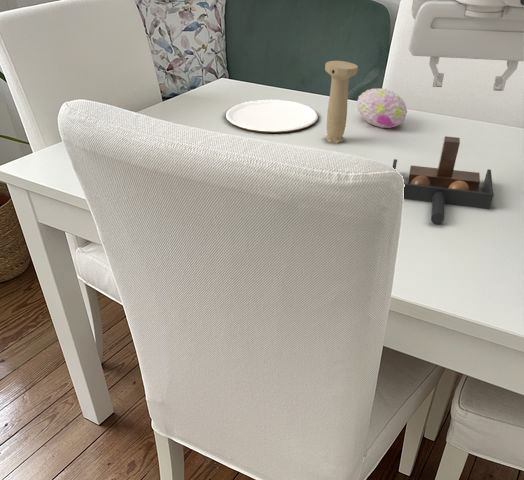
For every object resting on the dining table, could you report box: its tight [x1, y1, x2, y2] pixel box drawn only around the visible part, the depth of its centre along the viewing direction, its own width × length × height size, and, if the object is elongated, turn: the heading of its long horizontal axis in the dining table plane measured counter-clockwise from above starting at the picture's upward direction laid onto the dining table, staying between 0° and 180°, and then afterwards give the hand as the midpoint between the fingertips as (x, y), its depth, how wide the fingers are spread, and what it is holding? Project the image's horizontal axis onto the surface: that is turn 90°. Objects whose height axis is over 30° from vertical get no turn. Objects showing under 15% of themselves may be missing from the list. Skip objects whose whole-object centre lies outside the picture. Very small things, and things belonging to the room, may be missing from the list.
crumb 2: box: [448, 180, 469, 191], centre depth 98 cm, size 4×4×4 cm
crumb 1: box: [410, 176, 431, 186], centre depth 99 cm, size 4×4×4 cm
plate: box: [225, 99, 319, 134], centre depth 129 cm, size 21×21×1 cm
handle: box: [324, 60, 359, 144], centre depth 114 cm, size 5×6×15 cm
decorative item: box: [356, 87, 408, 129], centre depth 125 cm, size 9×11×10 cm
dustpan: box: [392, 158, 495, 225], centre depth 98 cm, size 17×19×3 cm
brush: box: [407, 136, 481, 192], centre depth 99 cm, size 12×4×9 cm, turn 76°
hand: (467, 88), depth 91 cm, fingers open, 8 cm apart
